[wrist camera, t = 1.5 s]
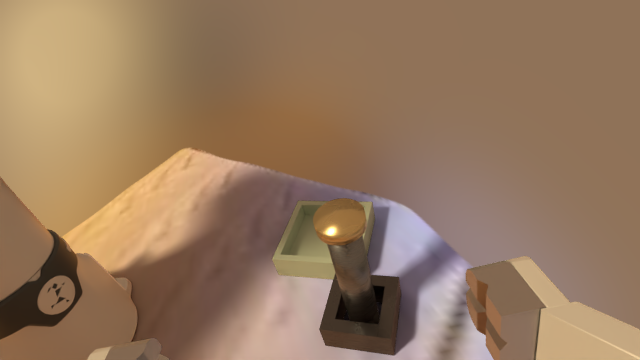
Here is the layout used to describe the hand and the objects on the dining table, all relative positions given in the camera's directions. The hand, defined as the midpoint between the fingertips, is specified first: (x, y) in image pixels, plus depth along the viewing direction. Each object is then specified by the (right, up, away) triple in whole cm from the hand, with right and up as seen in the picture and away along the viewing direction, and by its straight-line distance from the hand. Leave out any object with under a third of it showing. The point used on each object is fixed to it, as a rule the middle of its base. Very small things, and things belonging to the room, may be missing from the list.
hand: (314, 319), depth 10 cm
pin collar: (+5, -11, +31) cm, 33 cm away
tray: (+1, -5, +41) cm, 41 cm away
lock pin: (+5, -11, +31) cm, 33 cm away
